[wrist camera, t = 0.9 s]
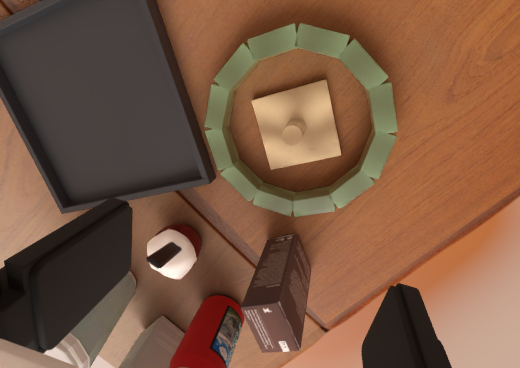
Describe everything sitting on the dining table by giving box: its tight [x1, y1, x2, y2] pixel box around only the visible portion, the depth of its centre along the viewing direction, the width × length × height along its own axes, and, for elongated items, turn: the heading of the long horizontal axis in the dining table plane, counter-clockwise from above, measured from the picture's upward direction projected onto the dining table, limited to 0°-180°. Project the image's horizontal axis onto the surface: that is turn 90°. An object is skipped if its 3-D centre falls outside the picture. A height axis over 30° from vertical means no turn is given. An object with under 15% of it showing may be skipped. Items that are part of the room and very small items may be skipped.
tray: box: [0, 0, 216, 214], centre depth 36 cm, size 24×24×2 cm
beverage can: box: [170, 295, 244, 368], centre depth 39 cm, size 7×7×12 cm
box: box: [241, 234, 311, 353], centre depth 34 cm, size 6×4×12 cm
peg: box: [252, 79, 341, 170], centre depth 31 cm, size 8×8×5 cm
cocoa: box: [147, 223, 202, 279], centre depth 36 cm, size 10×6×12 cm, turn 126°
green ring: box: [205, 23, 398, 217], centre depth 32 cm, size 19×19×3 cm
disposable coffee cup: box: [44, 271, 136, 368], centre depth 41 cm, size 11×11×15 cm
